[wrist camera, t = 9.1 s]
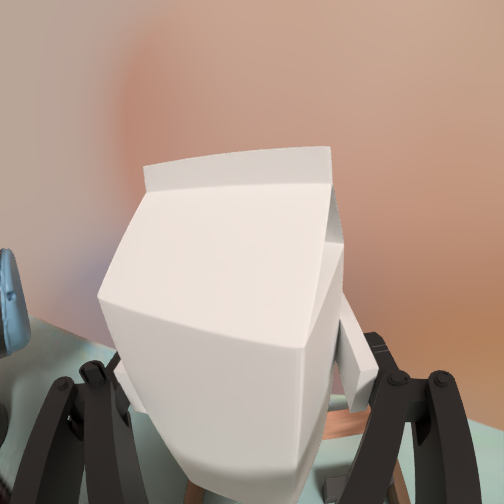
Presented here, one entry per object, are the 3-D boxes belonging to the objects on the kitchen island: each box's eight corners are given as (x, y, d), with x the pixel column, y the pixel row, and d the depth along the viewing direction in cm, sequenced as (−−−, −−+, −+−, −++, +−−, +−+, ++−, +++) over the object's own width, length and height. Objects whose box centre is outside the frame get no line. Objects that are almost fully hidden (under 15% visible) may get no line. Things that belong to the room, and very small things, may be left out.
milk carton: (290, 517, 10) (298, 139, 4) (190, 482, 13) (69, 181, 7) (322, 438, 16) (342, 149, 10) (236, 417, 19) (195, 159, 13)
